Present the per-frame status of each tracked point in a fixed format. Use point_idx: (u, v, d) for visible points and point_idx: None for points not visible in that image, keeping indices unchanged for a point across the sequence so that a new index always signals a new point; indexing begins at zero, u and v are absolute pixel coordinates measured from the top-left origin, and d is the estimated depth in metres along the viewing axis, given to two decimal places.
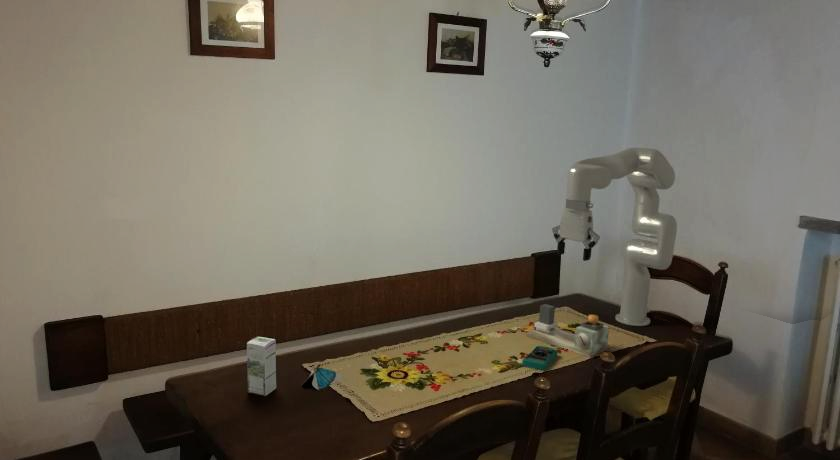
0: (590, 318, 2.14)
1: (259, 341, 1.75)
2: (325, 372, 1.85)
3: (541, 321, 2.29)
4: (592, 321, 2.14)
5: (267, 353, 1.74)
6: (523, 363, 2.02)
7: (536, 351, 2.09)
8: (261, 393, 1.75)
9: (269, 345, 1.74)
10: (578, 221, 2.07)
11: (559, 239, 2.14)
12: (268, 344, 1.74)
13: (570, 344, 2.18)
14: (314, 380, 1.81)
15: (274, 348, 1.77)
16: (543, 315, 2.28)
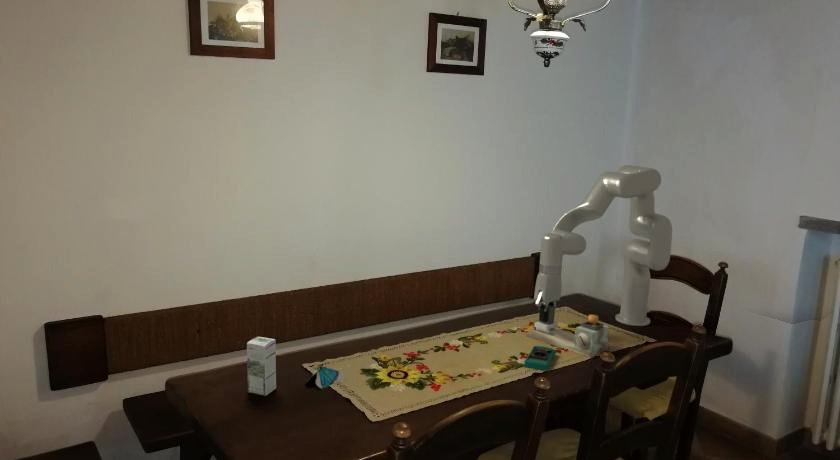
0: (590, 318, 2.14)
1: (259, 341, 1.75)
2: (328, 371, 1.86)
3: (541, 321, 2.29)
4: (592, 321, 2.14)
5: (267, 353, 1.74)
6: (525, 365, 2.01)
7: (535, 351, 2.09)
8: (261, 393, 1.75)
9: (269, 345, 1.74)
10: (558, 283, 2.26)
11: (546, 307, 2.25)
12: (268, 344, 1.74)
13: (570, 344, 2.18)
14: (317, 379, 1.82)
15: (274, 348, 1.77)
16: None
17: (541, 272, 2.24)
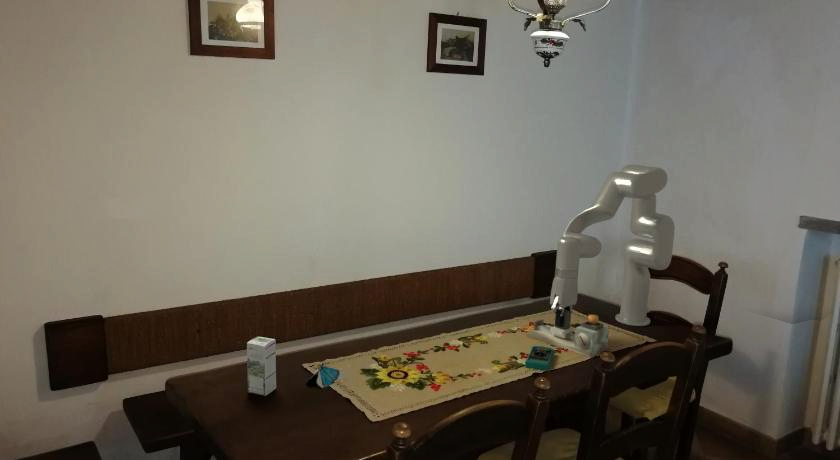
0: (590, 318, 2.14)
1: (259, 341, 1.75)
2: (329, 370, 1.86)
3: (557, 326, 2.24)
4: (592, 321, 2.14)
5: (267, 353, 1.74)
6: (526, 365, 2.01)
7: (535, 351, 2.09)
8: (261, 393, 1.75)
9: (269, 345, 1.74)
10: (575, 287, 2.22)
11: (562, 312, 2.21)
12: (268, 344, 1.74)
13: (570, 344, 2.18)
14: (318, 378, 1.82)
15: (274, 348, 1.77)
16: None
17: (557, 276, 2.20)
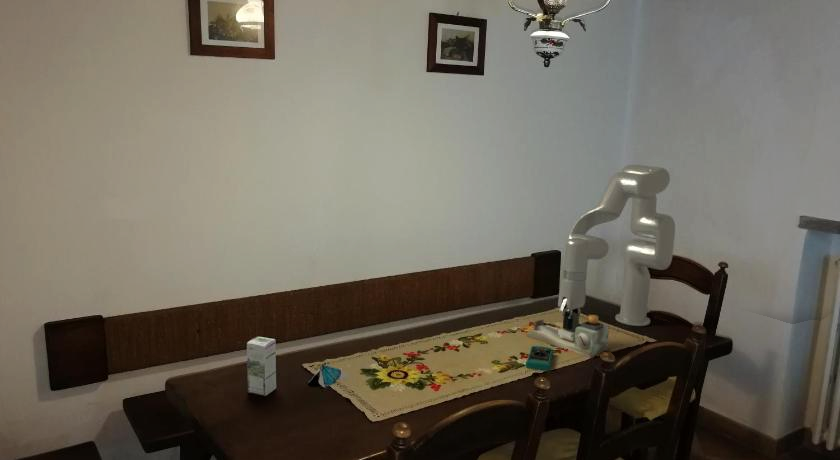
0: (590, 318, 2.14)
1: (259, 341, 1.75)
2: (330, 370, 1.86)
3: None
4: (592, 321, 2.14)
5: (267, 353, 1.74)
6: (526, 365, 2.01)
7: (534, 352, 2.08)
8: (261, 393, 1.75)
9: (269, 345, 1.74)
10: (583, 289, 2.20)
11: (571, 314, 2.19)
12: (268, 344, 1.74)
13: (570, 344, 2.18)
14: (320, 378, 1.82)
15: (274, 348, 1.77)
16: None
17: (565, 278, 2.17)
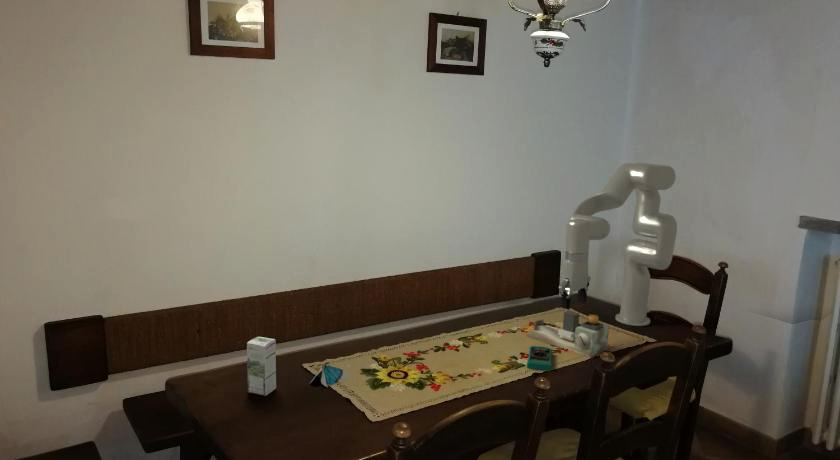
0: (590, 318, 2.14)
1: (259, 341, 1.75)
2: (332, 370, 1.87)
3: (565, 328, 2.22)
4: (592, 321, 2.14)
5: (267, 353, 1.74)
6: (528, 366, 2.00)
7: (534, 352, 2.08)
8: (261, 393, 1.75)
9: (269, 345, 1.74)
10: (585, 270, 2.19)
11: (569, 294, 2.16)
12: (268, 344, 1.74)
13: (570, 344, 2.18)
14: (322, 377, 1.83)
15: (274, 348, 1.77)
16: (567, 323, 2.21)
17: (567, 259, 2.16)
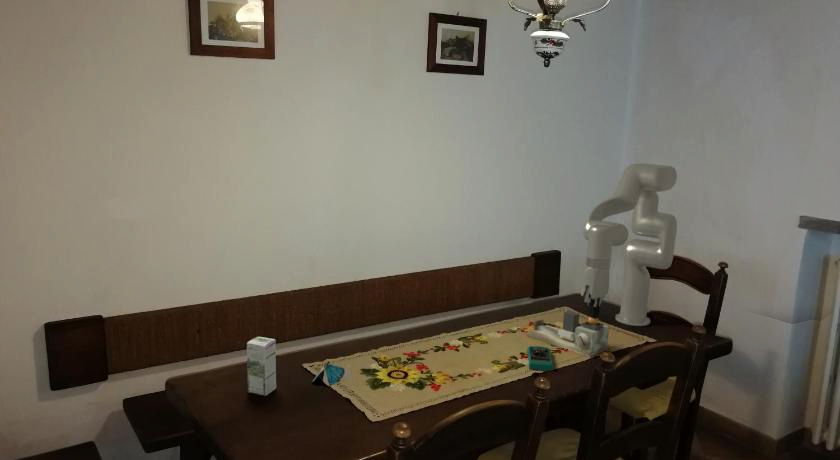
0: (590, 319, 2.14)
1: (259, 341, 1.75)
2: (334, 369, 1.88)
3: (565, 328, 2.22)
4: (592, 322, 2.14)
5: (267, 353, 1.74)
6: (530, 367, 2.00)
7: (533, 352, 2.08)
8: (261, 393, 1.75)
9: (269, 345, 1.74)
10: (607, 277, 2.13)
11: (596, 303, 2.12)
12: (268, 344, 1.74)
13: (570, 344, 2.18)
14: (325, 376, 1.83)
15: (274, 348, 1.77)
16: (567, 323, 2.21)
17: (589, 266, 2.10)
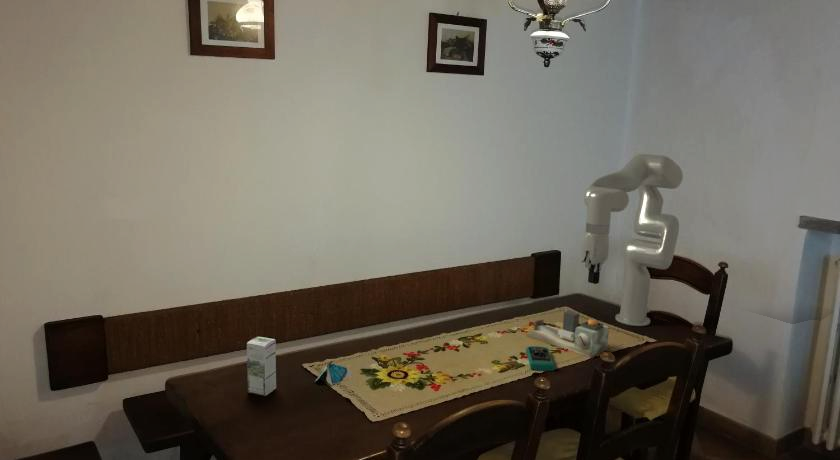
0: (590, 322, 2.15)
1: (259, 341, 1.75)
2: (337, 368, 1.88)
3: (565, 328, 2.22)
4: (592, 325, 2.14)
5: (267, 353, 1.74)
6: (531, 367, 1.99)
7: (533, 352, 2.08)
8: (261, 393, 1.75)
9: (269, 345, 1.74)
10: (606, 243, 2.15)
11: (596, 268, 2.15)
12: (268, 344, 1.74)
13: (570, 344, 2.18)
14: (328, 376, 1.84)
15: (274, 348, 1.77)
16: (567, 323, 2.21)
17: (588, 232, 2.12)
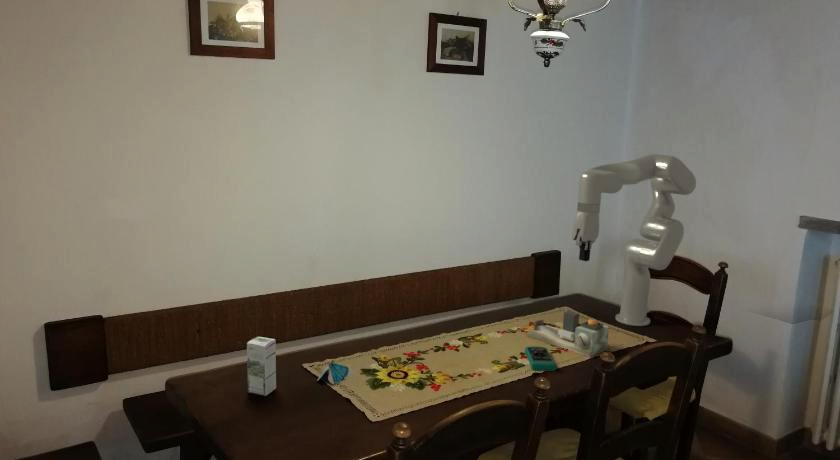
0: (590, 322, 2.15)
1: (259, 341, 1.75)
2: (338, 367, 1.88)
3: (565, 328, 2.22)
4: (592, 325, 2.14)
5: (267, 353, 1.74)
6: (533, 368, 1.99)
7: (532, 352, 2.08)
8: (261, 393, 1.75)
9: (269, 345, 1.74)
10: (597, 222, 2.24)
11: (586, 246, 2.24)
12: (268, 344, 1.74)
13: (570, 344, 2.18)
14: (330, 375, 1.84)
15: (274, 348, 1.77)
16: (567, 323, 2.21)
17: (579, 210, 2.22)
